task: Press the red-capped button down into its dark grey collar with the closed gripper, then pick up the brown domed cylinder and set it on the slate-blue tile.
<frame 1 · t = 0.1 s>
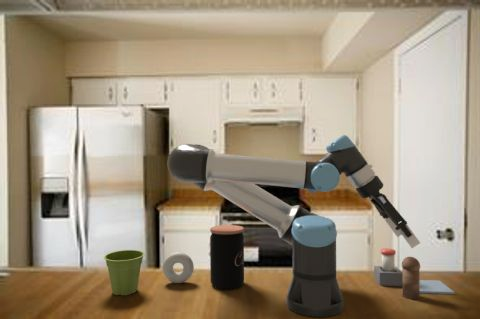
hand: (408, 239, 110), 15 cm above the countertop, tool tilted 35°, fingers open, 13 cm apart
donut: (178, 283, 118), on the countertop
plant pot: (124, 292, 111), on the countertop
coffee jar: (227, 285, 117), on the countertop
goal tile: (429, 287, 112), on the countertop
button plunger: (388, 261, 118), point 6 cm above the countertop, slide at 0.0 cm
brown domed cylinder: (411, 296, 105), on the countertop
button collar: (388, 281, 118), on the countertop
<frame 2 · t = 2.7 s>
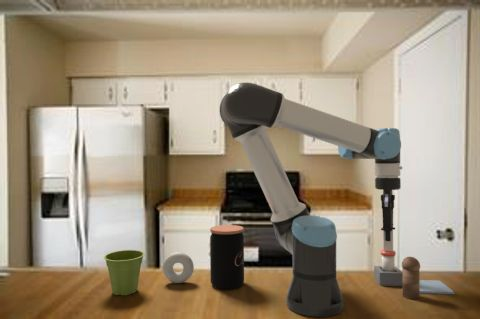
hand: (388, 250, 118), 10 cm above the countertop, tool pointing down, fingers closed
button plunger: (388, 262, 118), point 6 cm above the countertop, slide at 0.4 cm, touching gripper
everything else where it was.
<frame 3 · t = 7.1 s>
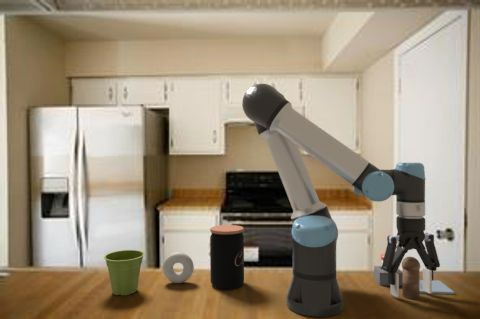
hand: (411, 293, 105), 1 cm above the countertop, tool pointing down, fingers open, 10 cm apart
button plunger: (388, 267, 118), point 5 cm above the countertop, slide at 1.8 cm
everything else where it was.
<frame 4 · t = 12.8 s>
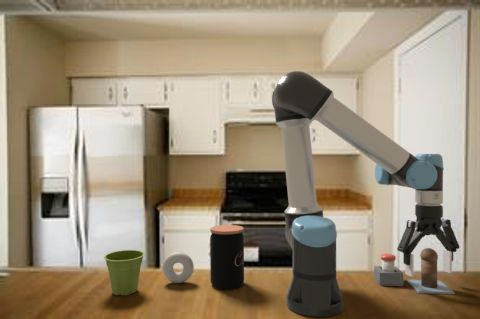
hand: (428, 273, 112), 4 cm above the countertop, tool pointing down, fingers open, 13 cm apart
brown domed cylinder: (429, 285, 112), point 1 cm above the countertop, touching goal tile
everything else where it was.
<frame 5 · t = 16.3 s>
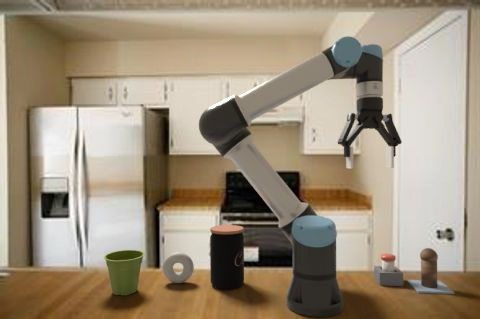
hand: (370, 168, 111), 37 cm above the countertop, tool pointing down, fingers open, 13 cm apart
nothing on the countertop moved.
at the end: button plunger slide at 1.8 cm; brown domed cylinder inside the target area on the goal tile (0.0 cm from its centre), point 0.6 cm above the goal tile's base; brown domed cylinder tilted 1° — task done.
